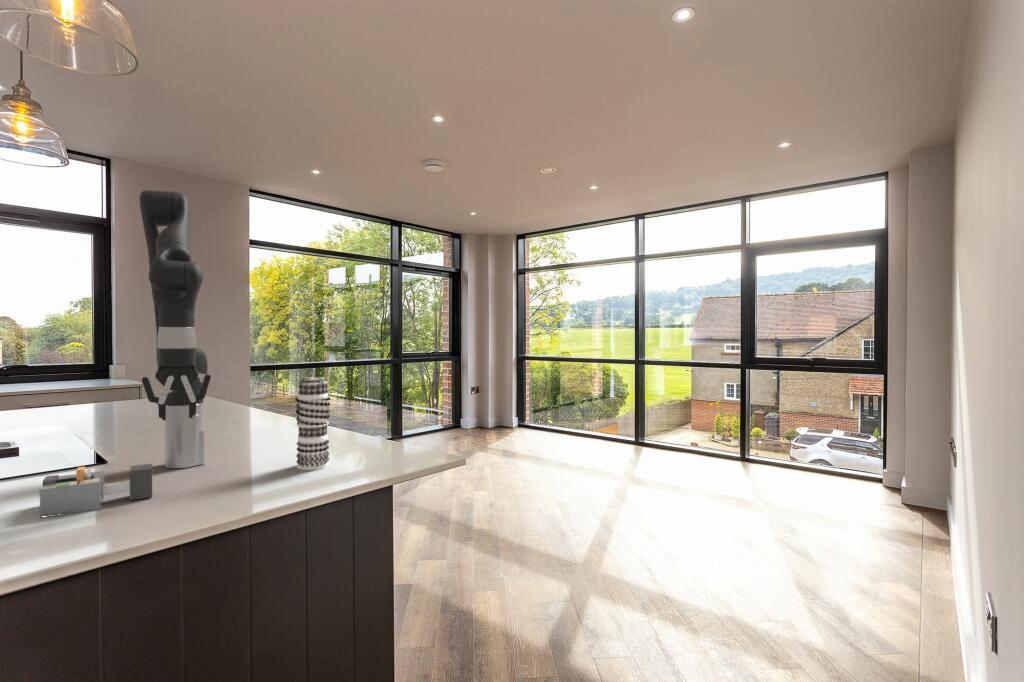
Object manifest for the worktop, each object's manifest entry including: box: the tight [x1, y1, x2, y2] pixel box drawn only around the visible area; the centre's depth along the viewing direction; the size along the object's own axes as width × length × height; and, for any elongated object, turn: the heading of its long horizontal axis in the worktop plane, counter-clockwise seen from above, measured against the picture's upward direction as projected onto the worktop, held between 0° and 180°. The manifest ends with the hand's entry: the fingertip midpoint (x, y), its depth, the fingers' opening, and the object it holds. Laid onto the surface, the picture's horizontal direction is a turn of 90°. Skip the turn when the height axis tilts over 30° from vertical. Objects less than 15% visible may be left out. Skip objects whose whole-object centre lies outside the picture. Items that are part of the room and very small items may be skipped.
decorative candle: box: [294, 376, 331, 471], centre depth 144 cm, size 9×9×25 cm
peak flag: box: [75, 466, 86, 481], centre depth 111 cm, size 1×3×7 cm, turn 34°
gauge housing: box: [39, 470, 106, 518], centre depth 110 cm, size 10×10×7 cm
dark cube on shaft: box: [86, 463, 153, 501], centre depth 115 cm, size 12×5×8 cm, turn 124°
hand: (177, 418), depth 120 cm, fingers open, 4 cm apart
